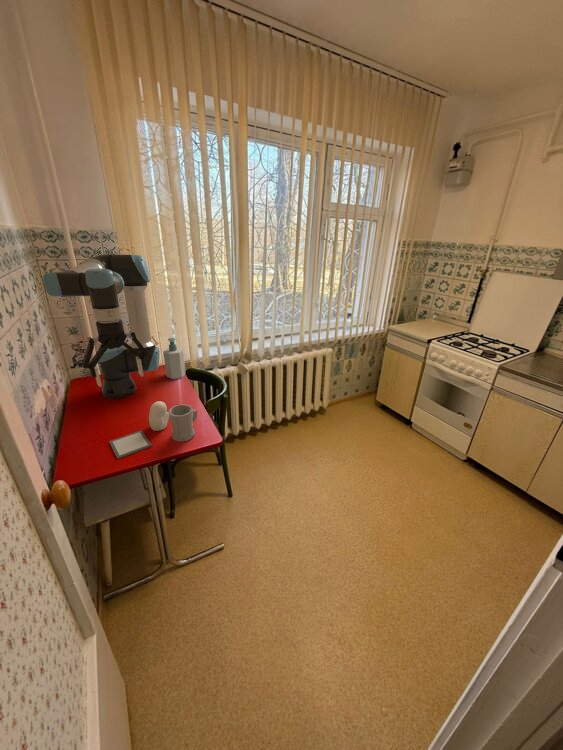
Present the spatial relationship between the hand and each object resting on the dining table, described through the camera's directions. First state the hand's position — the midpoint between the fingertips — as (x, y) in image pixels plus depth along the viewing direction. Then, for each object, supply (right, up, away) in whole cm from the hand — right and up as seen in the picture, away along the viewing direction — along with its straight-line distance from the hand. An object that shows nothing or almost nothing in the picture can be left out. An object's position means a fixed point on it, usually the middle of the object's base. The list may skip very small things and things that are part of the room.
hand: (121, 379), depth 105 cm
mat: (-2, -25, +10) cm, 27 cm away
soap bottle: (-4, +1, +66) cm, 66 cm away
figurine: (+5, -20, +21) cm, 30 cm away
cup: (+17, -23, +17) cm, 33 cm away
